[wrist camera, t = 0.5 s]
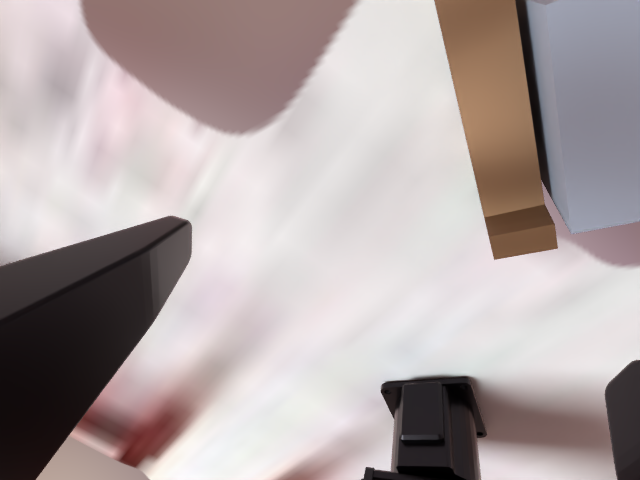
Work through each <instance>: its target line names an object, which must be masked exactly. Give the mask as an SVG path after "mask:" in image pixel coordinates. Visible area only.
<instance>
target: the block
mask: <svg viewBox="0 0 640 480" xmlns="http://www.w3.org/2000/svg"><path fill="white" fill-rule="evenodd" d="M515 3H516V10H517V17H518V24H519V31H520V38H521V44H522V51H523V58H524V65H525V72H526V79H527V86H528V93H529V100H530V107H531V114H532V121H533V128H534V135H535V141H536V148H537V155H538V162H539V169H540V176H541V180H542V182H543V184H544V186H545V187H546V189H547V191H548V193H549V195H550V197H551V198H552V200H553V202H554V204H555V206H556V207H557V209H558V211H559V213H560V215H561V216H562V218H563V220H564V221H565V224H566V226H567V227H568V229H569V231H570V233H571V234H575V233H581V232H586V231H591V230H597V229H601V228H607V227H612V226H618V225H624V224H629V223H634V222H639V221H640V0H515Z"/></svg>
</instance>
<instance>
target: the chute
mask: <svg viewBox="0 0 640 480" xmlns="http://www.w3.org/2000/svg"><path fill="white" fill-rule="evenodd" d="M434 1H435V5H436V10H437V14H438V18H439V23H440V27H441V31H442V36H443V40H444V45H445V49H446V53H447V58H448V62H449V66H450V71H451V75H452V79H453V84H454V88H455V92H456V97H457V101H458V105H459V110H460V114H461V118H462V123H463V127H464V132H465V136H466V140H467V145H468V149H469V153H470V158H471V162H472V166H473V171H474V175H475V179H476V184H477V188H478V192H479V197H480V201H481V206H482V210H483V214H484V218H485V223H486V227H487V231H488V235H489V239H490V244H491V248H492V252H493V256H494V260H495V259H501V258H507V257H512V256H518V255H524V254H529V253H535V252H541V251H546V250H552V249H558V246H557V239H556V231H555V224H554V222H553V220H552V218H551V216H550V214H549V212H548V210H547V208H546V206H545V204H544V197H543V190H542V183H541V176H540V169H539V162H538V155H537V148H536V141H535V135H534V128H533V121H532V114H531V107H530V100H529V93H528V86H527V79H526V72H525V65H524V58H523V51H522V44H521V38H520V31H519V24H518V17H517V10H516V3H515V0H434Z"/></svg>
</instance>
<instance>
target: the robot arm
mask: <svg viewBox="0 0 640 480" xmlns="http://www.w3.org/2000/svg"><path fill="white" fill-rule="evenodd" d="M191 252H192V225H191V223H190V222H189V221H188V220H185V219H182V218H179V217H176V216H167V217H164V218H161V219H157V220H154V221H151V222H147V223H144V224H141V225H137V226H134V227H131V228H127V229H124V230H120V231H117V232H114V233H110V234H107V235H104V236H100V237H97V238H94V239H90V240H87V241H83V242H80V243H77V244H73V245H70V246H67V247H63V248H60V249H56V250H53V251H50V252H46V253H43V254H40V255H36V256H33V257H30V258H26V259H23V260H19V261H16V262H13V263H9V264H6V265H3V266H0V480H36V478H37V477H38V476H39V474H40V473H41V472H42V471H43V469H44V468H45V467H46V465H47V464H48V463H49V461H50V460H51V458H52V457H53V456H54V455H55V453H56V452H57V450H58V449H59V448H60V446H61V445H62V444H63V443H64V441H65V440H66V438H67V437H68V436H69V435H70V433H71V432H72V431H73V429H74V428H75V427H76V425H77V424H78V423H79V421H80V420H81V419H82V417H83V416H84V415H85V413H86V412H87V411H88V409H89V408H90V407H91V405H92V404H93V403H94V401H95V400H96V399H97V397H98V396H99V395H100V393H101V392H102V391H103V389H104V388H105V387H106V385H107V384H108V383H109V381H110V380H111V379H112V377H113V376H114V375H115V373H116V372H117V371H118V369H119V368H120V367H121V365H122V364H123V363H124V361H125V360H126V359H127V357H128V356H129V355H130V353H131V352H132V351H133V349H134V348H135V347H136V345H137V344H138V343H139V341H140V340H141V339H142V337H143V336H144V335H145V333H146V332H147V331H148V329H149V328H150V326H151V325H152V324H153V322H154V321H155V319H156V317H157V316H158V314H159V313H160V311H161V309H162V307H163V306H164V304H165V302H166V301H167V299H168V297H169V295H170V294H171V292H172V290H173V289H174V287H175V285H176V284H177V282H178V280H179V278H180V277H181V275H182V273H183V272H184V270H185V268H186V266H187V265H188V263H189V260H190V258H191ZM381 393H382V395H383V397H384V399H385V401H386V404H387V406H388V408H389V410H390V412H391V414H392V416H393V418H394V433H393V447H392V461H391V472H390V471H382V470H375V469H374V468H370V467H366V470H365V474H364V479H361V480H481V473H480V464H479V454H478V445H477V438H482V437H485V436H486V435H487V433H486V427H485V424H484V421H483V418H482V415H481V412H480V409H479V405H478V402H477V399H476V396H475V393H474V390H473V387H472V384H471V381H470V380H469V379H467V378H453V379H438V380H424V381H410V382H395V383H384V384H382V386H381ZM605 400H606V407H607V414H608V422H609V429H610V436H611V443H612V450H613V457H614V464H615V470H616V475H617V480H640V360H635V361H632V362H631V363H629V364H628V365H627V366H626V367H625V368H624V369H623V370H622V371H621V372H620V373H619V374H618V375H617V376H616V377H615V378H614V379H613V380H611V381H610V382H609V384H608V385H607V387H606V390H605Z"/></svg>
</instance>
